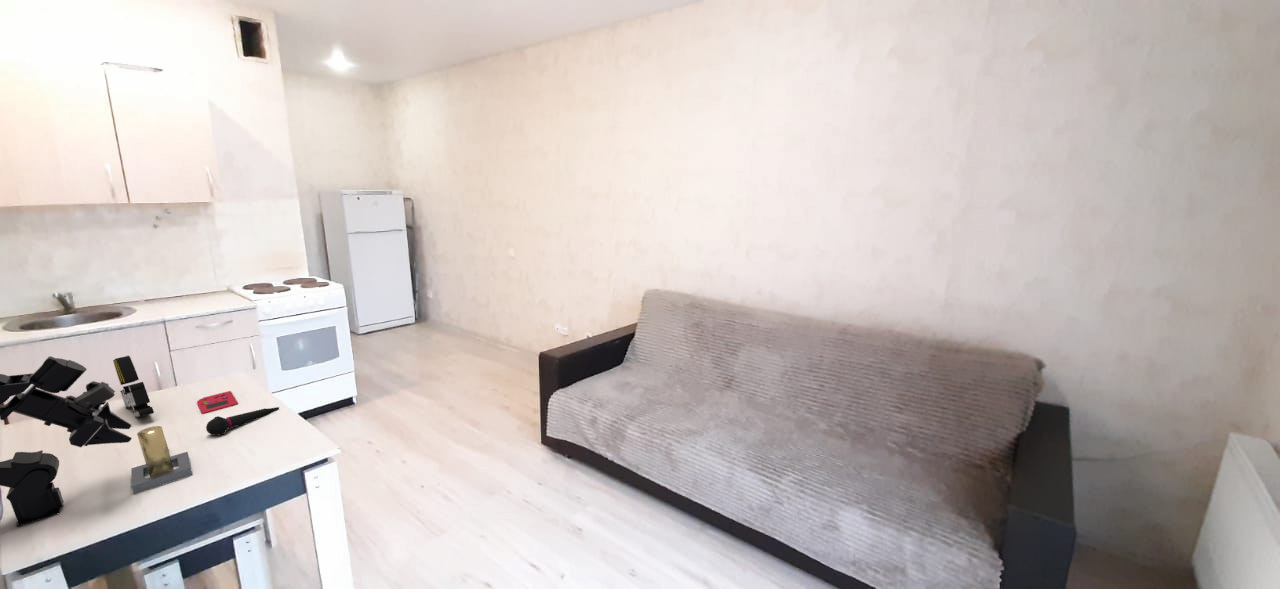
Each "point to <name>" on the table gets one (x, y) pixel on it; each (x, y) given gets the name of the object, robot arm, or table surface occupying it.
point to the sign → (132, 387)
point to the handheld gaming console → (216, 402)
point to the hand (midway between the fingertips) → (130, 433)
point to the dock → (140, 472)
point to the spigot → (155, 450)
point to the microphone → (235, 421)
